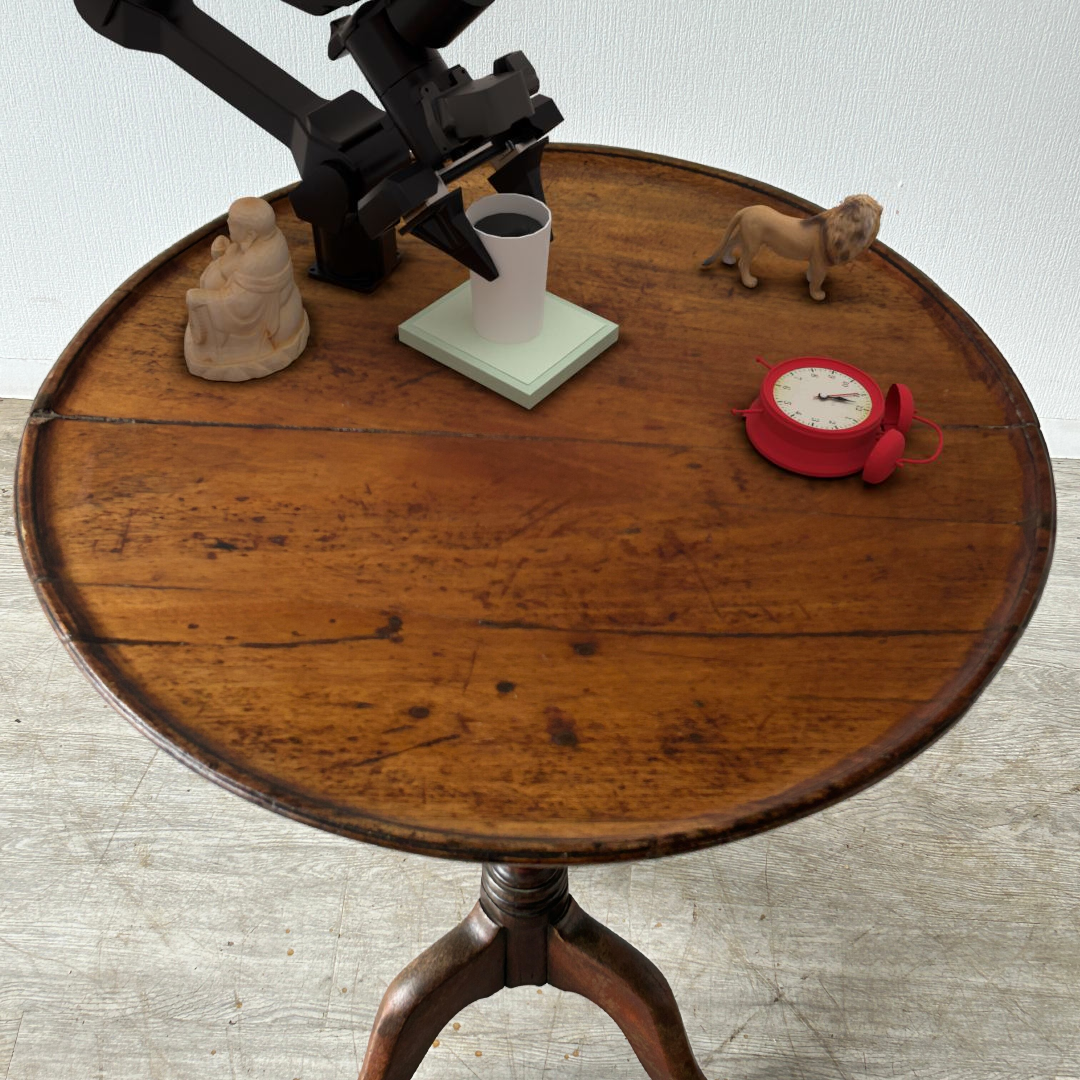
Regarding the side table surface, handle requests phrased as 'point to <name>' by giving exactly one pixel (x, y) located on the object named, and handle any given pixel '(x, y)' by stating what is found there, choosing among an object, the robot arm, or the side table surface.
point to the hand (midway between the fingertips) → (522, 260)
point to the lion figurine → (803, 237)
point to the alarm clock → (831, 420)
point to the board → (510, 345)
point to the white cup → (511, 266)
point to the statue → (246, 301)
